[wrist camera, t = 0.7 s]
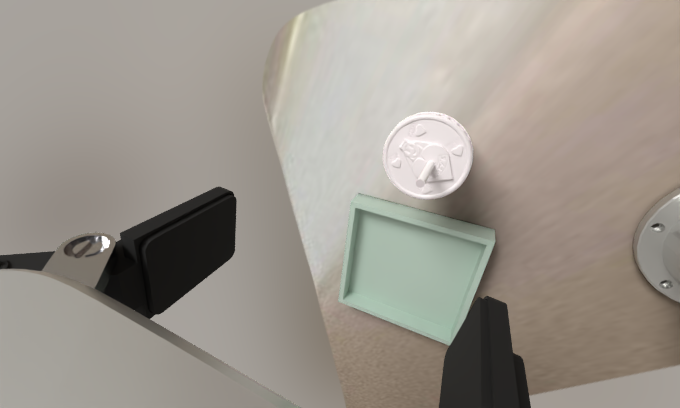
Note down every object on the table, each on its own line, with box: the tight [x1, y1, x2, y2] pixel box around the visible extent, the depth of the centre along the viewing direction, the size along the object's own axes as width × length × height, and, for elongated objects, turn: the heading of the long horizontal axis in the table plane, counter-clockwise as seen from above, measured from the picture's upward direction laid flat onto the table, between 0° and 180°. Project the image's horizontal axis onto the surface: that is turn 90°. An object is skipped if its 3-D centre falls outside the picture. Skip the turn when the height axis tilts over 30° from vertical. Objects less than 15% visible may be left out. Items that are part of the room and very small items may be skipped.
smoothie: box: [383, 112, 473, 200], centre depth 24 cm, size 6×6×14 cm
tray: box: [338, 193, 495, 346], centre depth 36 cm, size 15×15×3 cm
